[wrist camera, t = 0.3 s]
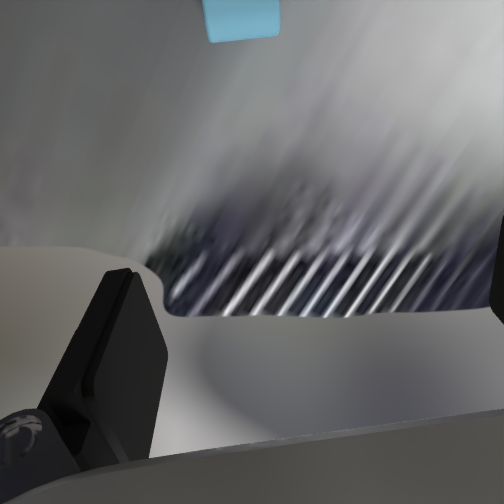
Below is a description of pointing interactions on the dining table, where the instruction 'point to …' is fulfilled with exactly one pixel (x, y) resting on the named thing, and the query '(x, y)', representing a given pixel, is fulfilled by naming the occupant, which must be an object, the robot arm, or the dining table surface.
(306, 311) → the dining table surface
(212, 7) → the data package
